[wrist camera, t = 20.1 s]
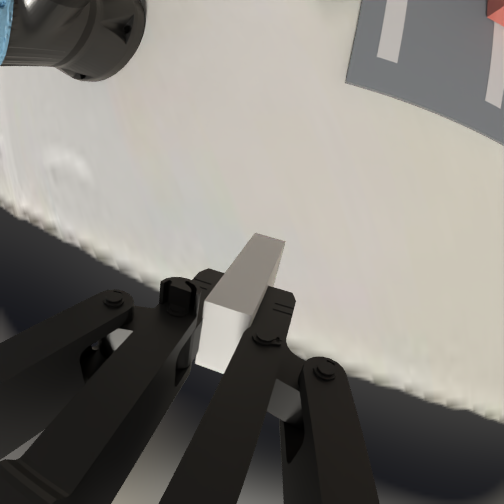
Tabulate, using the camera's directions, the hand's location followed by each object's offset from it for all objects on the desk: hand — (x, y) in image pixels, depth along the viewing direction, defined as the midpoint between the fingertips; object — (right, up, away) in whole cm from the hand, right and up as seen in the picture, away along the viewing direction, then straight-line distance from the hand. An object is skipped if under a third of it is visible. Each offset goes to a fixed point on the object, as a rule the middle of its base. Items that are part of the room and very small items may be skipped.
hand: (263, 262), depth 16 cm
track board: (+23, +27, +10) cm, 37 cm away
